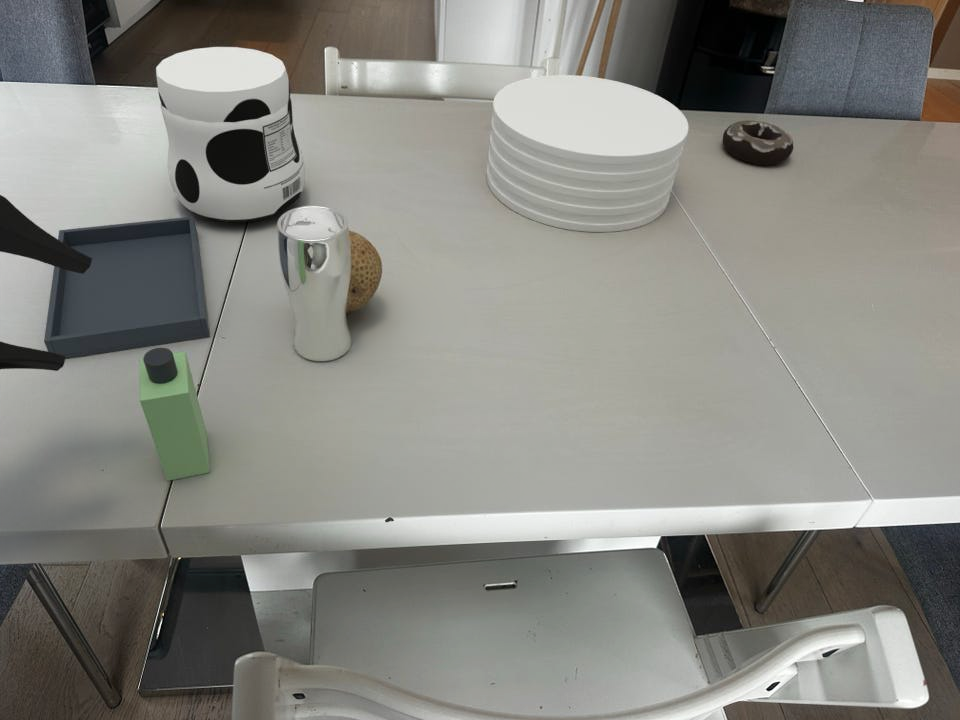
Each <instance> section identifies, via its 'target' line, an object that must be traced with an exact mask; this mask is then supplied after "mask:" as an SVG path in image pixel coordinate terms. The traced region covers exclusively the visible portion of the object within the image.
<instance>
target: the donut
mask: <svg viewBox="0 0 960 720" xmlns="http://www.w3.org/2000/svg"><path fill="white" fill-rule="evenodd" d="M722 145H723V146H724V148H725V150H726V151H727V152H728V153H730V155H731V156H733V157H735V158H736V159H738V160H741V161H744V162H745V163H750V164H753V165H759V166H760V165H761V166H770V165H771V166H772V165H775V164H780V163H782V162H784V161H786V160H788V159H789V157H791V156H792V155H791V154H792V153H793V151H794V141H793V138H792V137H791V135H790V134H789V133H788V132H787V131H786V130H784V129H783V128H781V127H779V126H778V125H774V124H771V123H769V122H765V121H759V120H750V119H749V120H748V119H747V120H739V121H736V122H734V123H732V124H731V123H730V124H729V126H727V128H726V129H725V130H724V132H723V134H722Z"/></svg>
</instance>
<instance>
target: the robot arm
mask: <svg viewBox="0 0 960 720" xmlns="http://www.w3.org/2000/svg"><path fill="white" fill-rule="evenodd" d="M0 253H6V254H10V255H15V256H19V257H24V258H28V259H31V260H35V261H38V262H40V263H44V264H47V265H50V266H53V267H54V266H56V267H59V268H62V269H65V270H68V271H72V272H77V273H82V274H84V273H85V272H86V270H87V269H88V268H89V267H90V265H91V261H92V258H91V257H89V256H87V255H85V254H83V253H81V252H79V251H77V250H75V249H73V248H71V247H70V246H68V245H66V244H65V243H63V242H61V241H60V240H58V238H56V237H55V236H53V235H52V234H51V233H49V232H47V231H46V230H44V229H43V228H42V227H40V226H39V225H37V224H36V222H34V221H32V220H31V219H30V218H28V217H27V216H26V215H25V214H24V213H23V212H22V211H20V210H19V209H18V208H17V207H16V206H15V205H14V204H13V203H12V202H11V201H10V200H9V199H8V198H6V197H5V196H3V195H1V194H0ZM65 362H66V357H65V356H62V355H59V354H55V353H52V352H48V350H42V349H37V348H31V347H27V346H26V347H25V346H20V345H15V344H11V343H8V342H4V341H0V370H17V369H19V370H22V369H24V370H45V371H55V372H58V371H59V370H61V369H62V368H64V365H65Z"/></svg>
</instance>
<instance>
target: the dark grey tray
mask: <svg viewBox="0 0 960 720" xmlns="http://www.w3.org/2000/svg"><path fill="white" fill-rule="evenodd" d="M57 239H58V240H60V241H61V242H63V243H65V244H66V245H68V246H70V247H71V248H73V249H75V250H77V251H79V252H81V253H83V254H85V255H87V256H89V257H91V258H92V261H91V265H90V267H89V268H88V269H87V270H86V272H85V273H84V274H82V273H77V272H72V271H68V270H65V269H62V268H59V267H56V266H53V272H52V279H51V280H52V281H51V287H50V295H49V301H48V310H47V316H46V324H45V331H44V339H43V342H44V345H45V347H46V351H47V352H52V353H55V354H59V355H62V356H65V357H66V359H72V358H73V359H74V358H79V357H85V356H92V355H98V354H106V353H113V352H119V351H125V350H132V349H138V348H144V347H145V348H146V347H152V346H158V345H159V346H160V345H165V344H173V343H178V342H184V341H190V340H197V339H204V338H210V337H211V334H210V325H209V318H208V317H209V316H208V310H207V301H206V292H205V284H204V276H203V275H204V274H203V268H202V260H201V252H200V251H201V250H200V242H199V235H198V229H197V224H196V220H195V217H194V216H184V217H175V218H165V219H154V220H146V221H135V222H126V223H117V224H108V225H107V224H106V225H98V226H88V227H77V228H68V229H59V230H58V236H57ZM66 359H65V360H66Z"/></svg>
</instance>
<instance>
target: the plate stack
mask: <svg viewBox="0 0 960 720" xmlns="http://www.w3.org/2000/svg"><path fill="white" fill-rule="evenodd" d="M689 128H690V127H689V122H688V119H687V118H686V116H685V115H684V113H683V112H682V111H681V110H680V109H679V108H678V107H677V106H675V105H674V104H673V103H671V102H670V101H668V100H666V99H665V98H663V97H661V96H660V95H658V94H655V93H653V92H651V91H649V90H647V89H643V88H641V87H638V86H635V85H632V84H628V83H625V82H621V81H618V80H617V81H616V80H612V79H608V78H603V77H602V78H601V77H594V76H588V75H576V74H575V75H573V74H570V75H569V74H555V75H554V74H551V75H540V76H533V77H527V78H523V79H520V80H515V81H514V82H512V83H509V84H507V85H505V86H504V87H502V88H500V90H498V92H497V93H496V94H495V96H494V98H493V102H492V116H491V123H490V135H489V148H488V156H487V168H486V182H487V185H488V188H489V190H490V192H491V193H492V194H493V196H494V197H495V198H496V199H497V200H498V201H499V202H500V203H502V204H503V205H504V206H506V207H507V208H508V209H510V210H511V211H513V212H515V213H517V214H519V215H521V216H523V217H525V218H527V219H529V220H532V221H534V222H537V223H540V224H543V225H546V226H550V227H554V228H558V229H563V230H568V231H569V230H570V231H574V232H585V233H587V232H588V233H613V232H622V231H628V230H632V229H636V228H640V227H642V226H645V225H647V224H650V223H651V222H653V221H655V220H656V219H658V218H659V217H660V216H661V215H663V213H664V212H665V211H666V209H667V207H668V204H669V200H670V197H671V192H672V189H673V187H674V183H675V177H676V175H677V172H678V169H679V165H680V160H681V158H682V154H683V151H684V147H685V146H684V145H685V143H686V140H687V137H688V133H689Z"/></svg>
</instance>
